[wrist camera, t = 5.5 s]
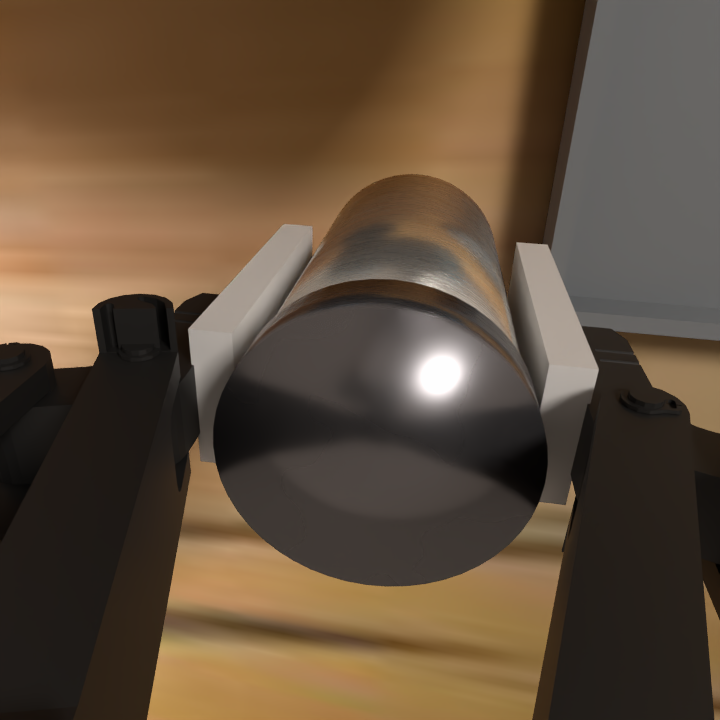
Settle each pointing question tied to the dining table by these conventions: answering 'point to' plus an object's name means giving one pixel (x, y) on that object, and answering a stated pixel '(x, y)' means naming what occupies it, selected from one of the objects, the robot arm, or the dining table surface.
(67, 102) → the dining table surface
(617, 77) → the tray
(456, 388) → the shaker
